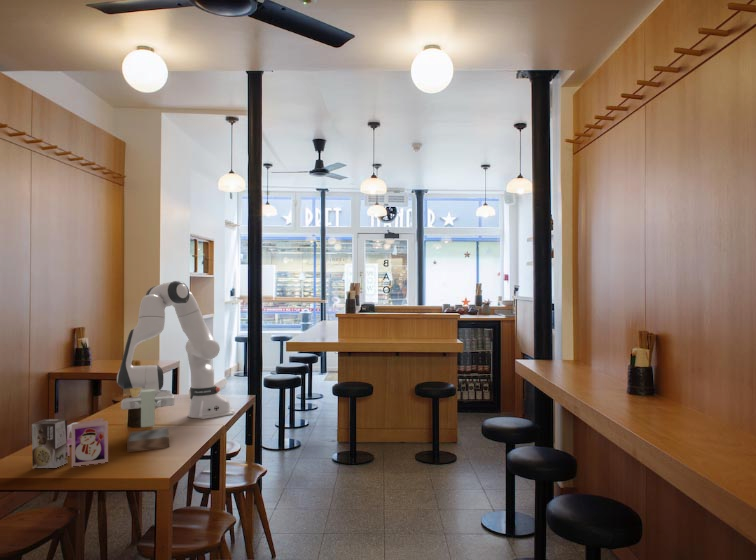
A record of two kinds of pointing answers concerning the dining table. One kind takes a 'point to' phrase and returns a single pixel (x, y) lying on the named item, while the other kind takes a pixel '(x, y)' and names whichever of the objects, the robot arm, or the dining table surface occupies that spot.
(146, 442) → the walnut plinth
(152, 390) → the sage pillar
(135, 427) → the dining table surface
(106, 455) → the greeting card
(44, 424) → the coffee box
